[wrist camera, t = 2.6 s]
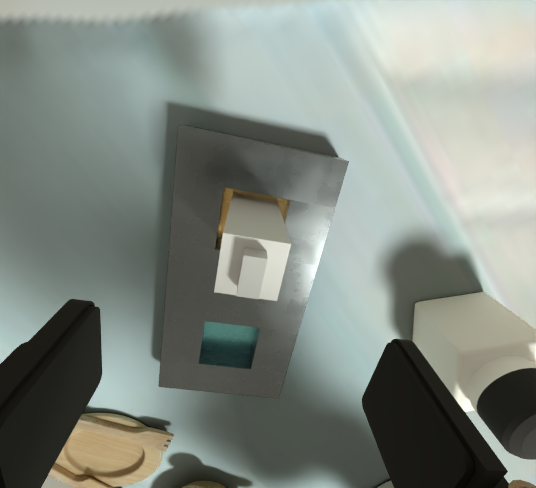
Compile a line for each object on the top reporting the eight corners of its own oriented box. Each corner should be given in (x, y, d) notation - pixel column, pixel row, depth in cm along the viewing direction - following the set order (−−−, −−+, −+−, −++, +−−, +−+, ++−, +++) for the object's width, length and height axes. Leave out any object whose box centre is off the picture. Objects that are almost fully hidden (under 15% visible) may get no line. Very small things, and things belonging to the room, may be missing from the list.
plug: (277, 200, 24) (293, 252, 14) (268, 241, 25) (278, 311, 16) (233, 192, 23) (221, 240, 14) (226, 234, 24) (211, 302, 15)
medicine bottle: (410, 354, 32) (494, 479, 21) (413, 300, 29) (513, 411, 18) (474, 345, 32) (594, 464, 21) (484, 289, 29) (629, 394, 18)
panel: (339, 157, 23) (348, 161, 21) (276, 378, 32) (278, 398, 30) (185, 125, 22) (178, 126, 19) (165, 366, 31) (158, 386, 28)
